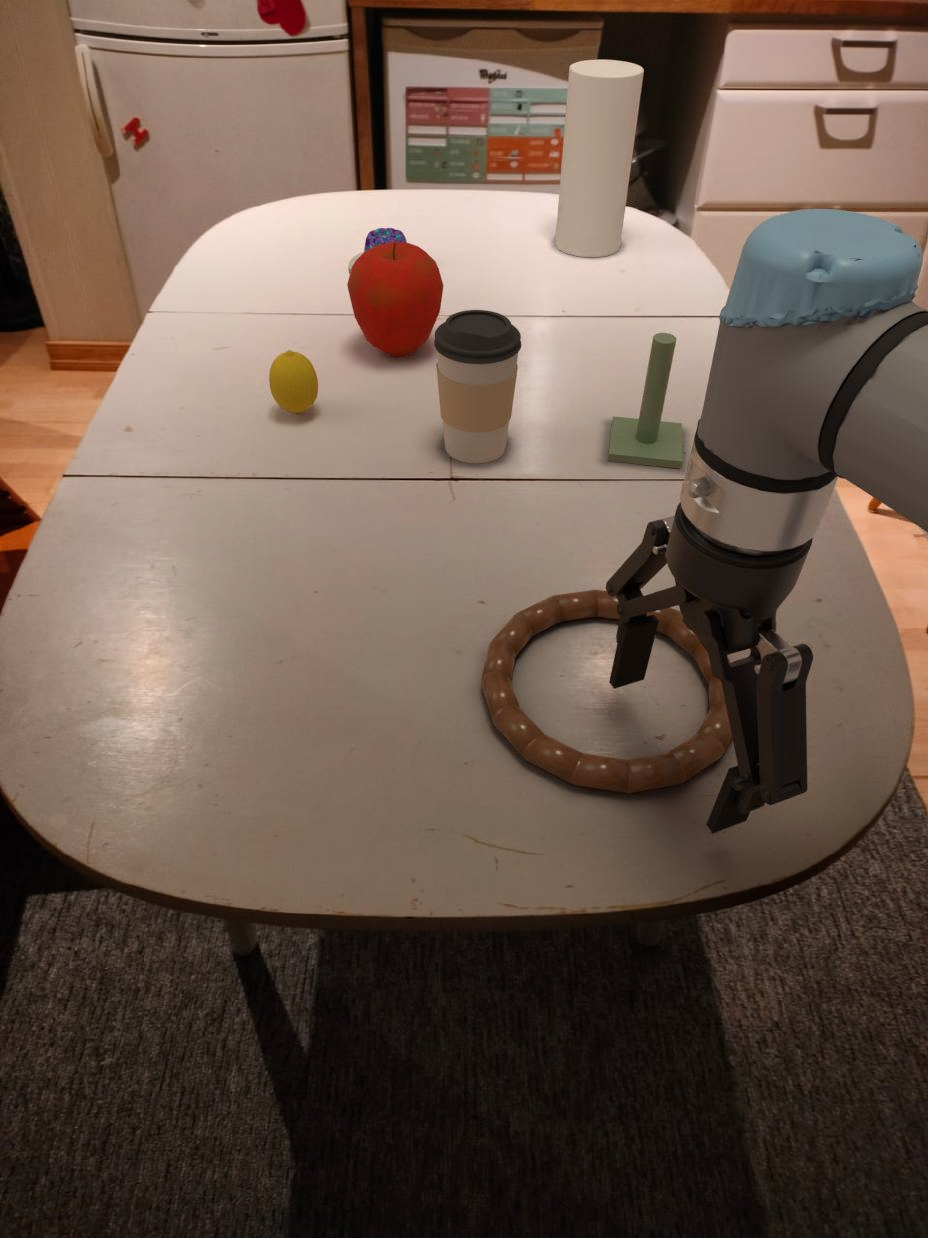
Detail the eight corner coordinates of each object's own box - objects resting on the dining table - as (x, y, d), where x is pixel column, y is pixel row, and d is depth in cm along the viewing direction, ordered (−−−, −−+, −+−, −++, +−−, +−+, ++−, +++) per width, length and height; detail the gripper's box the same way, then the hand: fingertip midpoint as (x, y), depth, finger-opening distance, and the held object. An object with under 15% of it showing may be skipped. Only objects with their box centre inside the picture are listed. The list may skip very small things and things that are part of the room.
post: (680, 430, 99) (703, 324, 90) (680, 468, 93) (705, 359, 84) (611, 423, 100) (627, 317, 91) (607, 460, 94) (624, 351, 85)
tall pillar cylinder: (602, 262, 134) (624, 79, 117) (543, 247, 138) (556, 69, 121) (630, 241, 141) (655, 65, 123) (573, 227, 145) (590, 55, 127)
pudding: (332, 271, 131) (329, 236, 127) (381, 247, 138) (379, 213, 134) (393, 290, 126) (392, 255, 122) (441, 264, 133) (440, 230, 129)
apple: (368, 325, 118) (360, 219, 108) (452, 333, 116) (452, 227, 106) (341, 367, 109) (330, 256, 99) (431, 377, 107) (429, 265, 98)
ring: (730, 621, 76) (736, 601, 74) (743, 817, 62) (751, 799, 60) (502, 591, 79) (503, 572, 77) (462, 774, 64) (462, 755, 62)
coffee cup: (449, 420, 100) (449, 295, 90) (523, 432, 98) (532, 307, 88) (425, 461, 94) (421, 332, 83) (503, 475, 92) (510, 345, 82)
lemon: (322, 423, 99) (314, 360, 94) (274, 427, 99) (264, 364, 93) (320, 399, 103) (312, 337, 98) (274, 403, 103) (264, 341, 97)
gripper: (581, 415, 54) (551, 644, 69) (839, 697, 38) (727, 916, 53) (682, 394, 56) (632, 620, 71) (969, 653, 40) (825, 876, 55)
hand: (672, 747), depth 62 cm, fingers open, 13 cm apart
